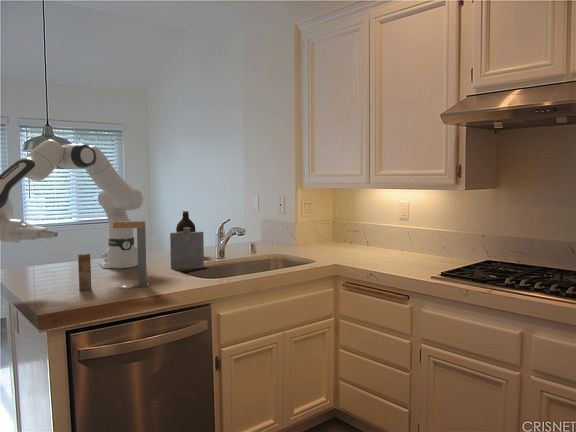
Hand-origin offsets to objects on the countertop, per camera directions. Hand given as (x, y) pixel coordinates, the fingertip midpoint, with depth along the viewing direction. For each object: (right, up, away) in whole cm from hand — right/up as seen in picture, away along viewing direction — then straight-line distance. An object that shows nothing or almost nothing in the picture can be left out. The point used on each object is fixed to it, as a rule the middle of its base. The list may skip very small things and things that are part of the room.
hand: (55, 235), depth 180 cm
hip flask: (+41, -18, +48) cm, 66 cm away
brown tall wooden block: (+9, -22, +5) cm, 24 cm away
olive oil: (+32, -15, +85) cm, 92 cm away
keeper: (+26, -21, +10) cm, 35 cm away
